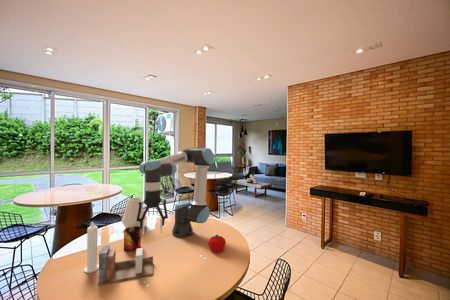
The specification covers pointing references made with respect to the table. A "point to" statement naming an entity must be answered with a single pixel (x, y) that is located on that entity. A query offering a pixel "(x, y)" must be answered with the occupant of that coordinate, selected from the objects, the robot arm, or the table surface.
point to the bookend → (139, 260)
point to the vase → (132, 213)
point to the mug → (132, 238)
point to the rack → (120, 267)
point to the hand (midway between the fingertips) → (152, 232)
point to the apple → (217, 243)
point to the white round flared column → (92, 249)
